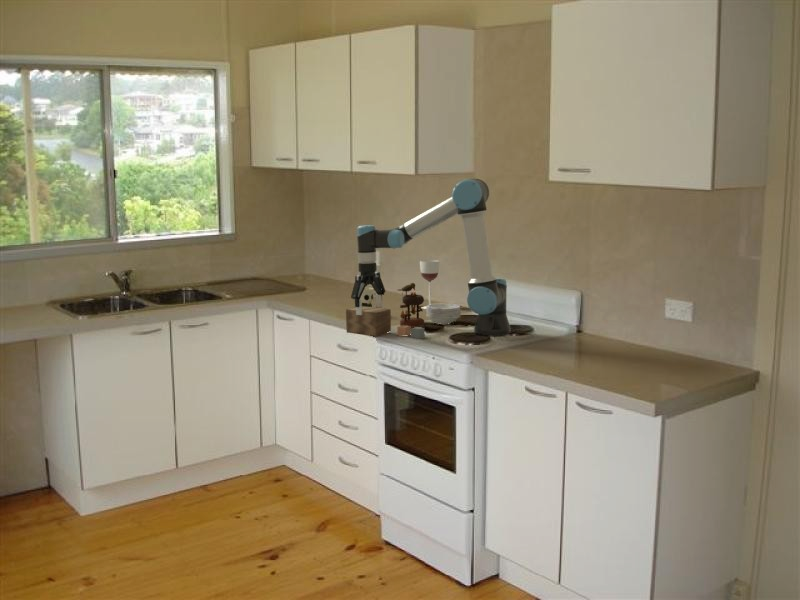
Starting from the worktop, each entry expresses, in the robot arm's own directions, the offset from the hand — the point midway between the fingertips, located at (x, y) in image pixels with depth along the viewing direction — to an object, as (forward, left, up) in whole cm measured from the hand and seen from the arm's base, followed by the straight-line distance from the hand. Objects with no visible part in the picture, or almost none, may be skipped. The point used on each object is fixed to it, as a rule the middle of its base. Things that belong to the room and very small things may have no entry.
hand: (369, 312), depth 387 cm
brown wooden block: (0, 0, -9) cm, 9 cm away
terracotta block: (-16, -3, -9) cm, 19 cm away
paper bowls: (-14, -36, -9) cm, 39 cm away
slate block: (-23, -3, -9) cm, 25 cm away
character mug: (+26, -31, -9) cm, 42 cm away
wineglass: (+15, -67, -9) cm, 69 cm away
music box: (-9, -20, -9) cm, 23 cm away
